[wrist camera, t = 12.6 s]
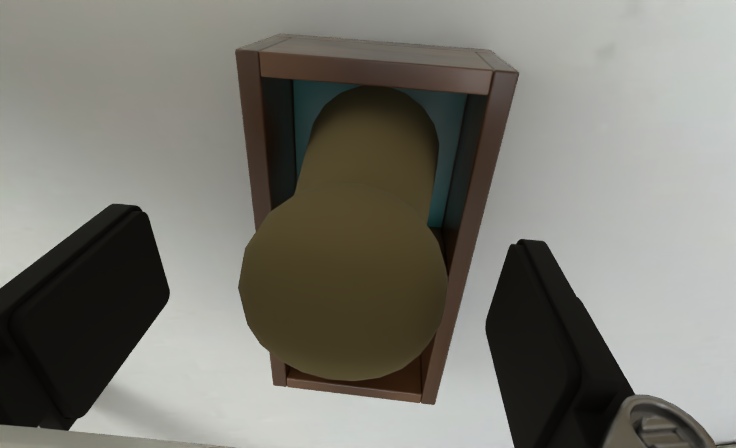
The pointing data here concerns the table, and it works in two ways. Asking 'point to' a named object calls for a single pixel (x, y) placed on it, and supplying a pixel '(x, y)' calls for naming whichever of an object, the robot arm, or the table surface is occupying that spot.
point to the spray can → (727, 446)
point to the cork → (352, 244)
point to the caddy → (454, 169)
